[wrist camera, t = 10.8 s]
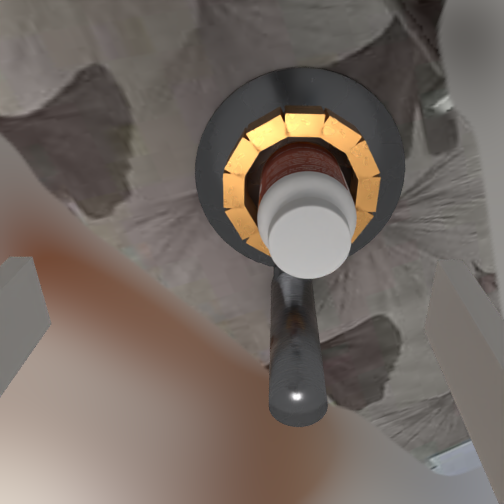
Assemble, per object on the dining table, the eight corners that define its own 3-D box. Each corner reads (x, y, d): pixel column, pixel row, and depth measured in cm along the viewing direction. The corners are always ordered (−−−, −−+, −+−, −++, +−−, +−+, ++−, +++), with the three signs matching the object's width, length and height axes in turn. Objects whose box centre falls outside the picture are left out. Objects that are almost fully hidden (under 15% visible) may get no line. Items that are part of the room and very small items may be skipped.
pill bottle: (245, 165, 35) (232, 226, 26) (316, 122, 34) (332, 170, 24) (286, 229, 38) (289, 306, 28) (355, 192, 36) (383, 261, 26)
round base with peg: (191, 65, 33) (139, 100, 20) (420, 68, 32) (509, 107, 20) (202, 299, 42) (171, 421, 30) (380, 305, 41) (424, 432, 29)
